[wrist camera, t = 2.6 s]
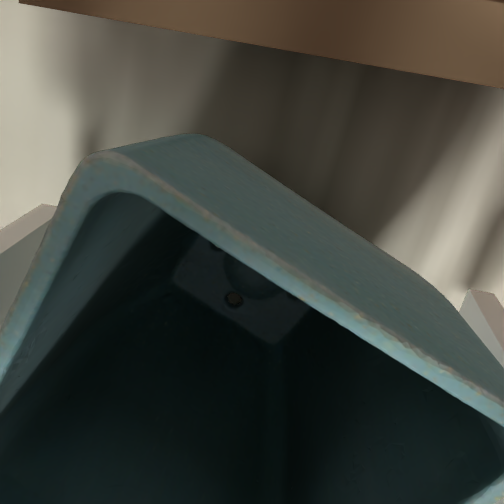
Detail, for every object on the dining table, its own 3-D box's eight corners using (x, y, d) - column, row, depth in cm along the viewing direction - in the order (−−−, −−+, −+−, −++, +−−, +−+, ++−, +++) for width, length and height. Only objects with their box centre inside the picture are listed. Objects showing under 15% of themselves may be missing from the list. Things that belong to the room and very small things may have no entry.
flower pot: (215, 74, 14) (83, 135, 6) (446, 233, 16) (583, 455, 7) (98, 283, 18) (-80, 489, 10) (292, 398, 19) (272, 666, 11)
